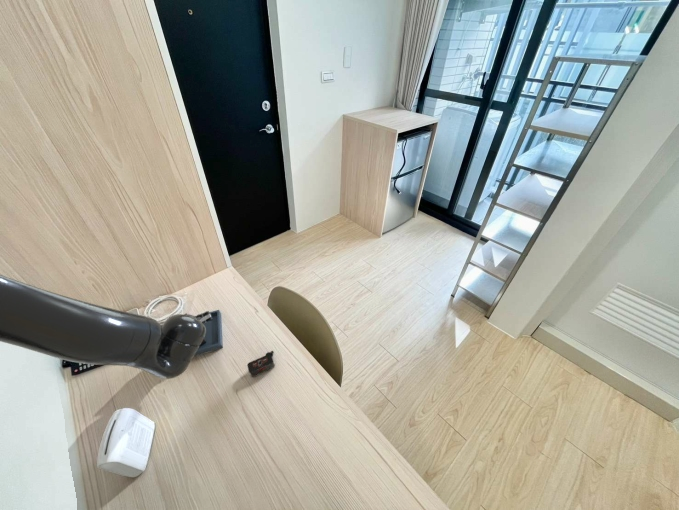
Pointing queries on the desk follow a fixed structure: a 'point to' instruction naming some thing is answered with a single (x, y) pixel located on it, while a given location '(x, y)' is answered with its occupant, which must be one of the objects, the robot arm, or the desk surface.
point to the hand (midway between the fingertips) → (187, 324)
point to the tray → (212, 334)
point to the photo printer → (126, 443)
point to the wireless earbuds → (261, 364)
